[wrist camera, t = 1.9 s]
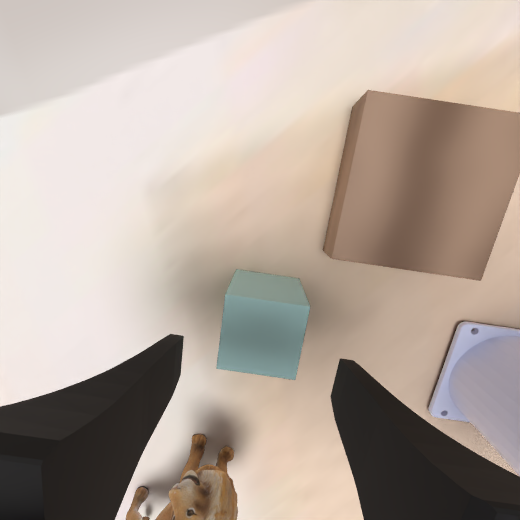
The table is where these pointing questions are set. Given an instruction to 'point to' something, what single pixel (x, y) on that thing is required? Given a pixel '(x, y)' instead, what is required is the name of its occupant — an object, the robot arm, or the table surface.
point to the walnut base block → (423, 184)
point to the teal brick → (263, 325)
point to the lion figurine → (197, 490)
